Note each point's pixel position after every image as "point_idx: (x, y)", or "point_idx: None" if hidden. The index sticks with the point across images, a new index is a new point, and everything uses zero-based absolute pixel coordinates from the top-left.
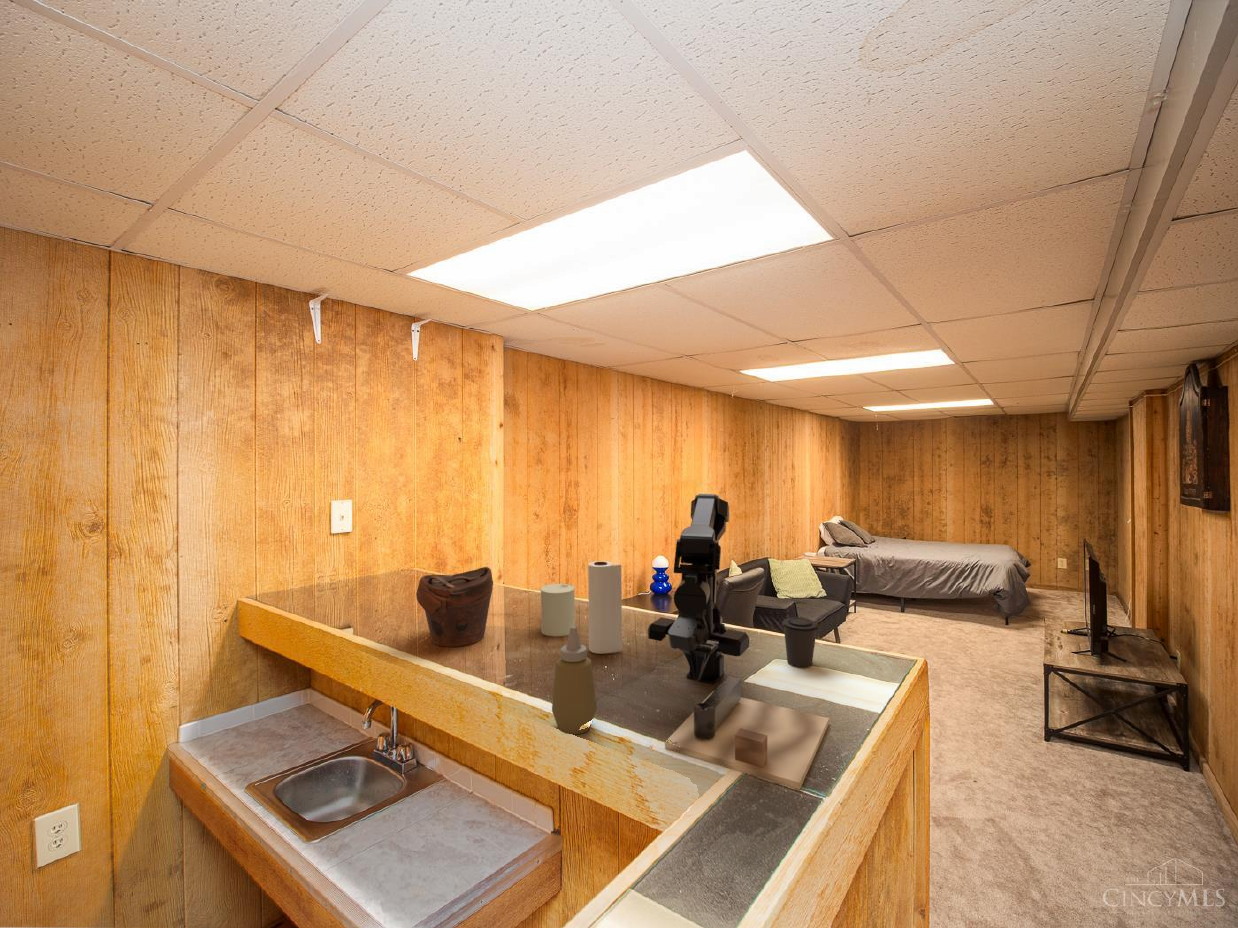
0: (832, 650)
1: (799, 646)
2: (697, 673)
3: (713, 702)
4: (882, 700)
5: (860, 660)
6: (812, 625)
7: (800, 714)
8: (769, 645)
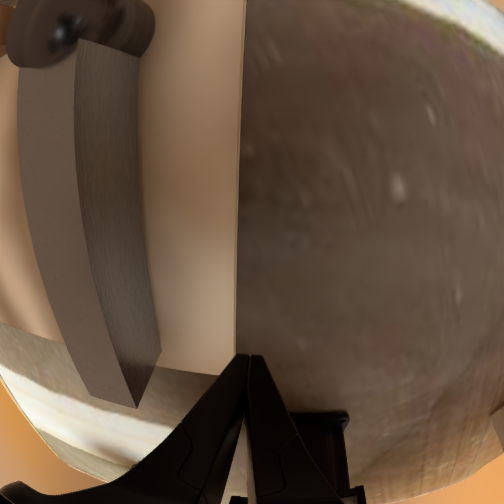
0: None
1: None
2: (230, 383)
3: (37, 122)
4: (12, 391)
5: (98, 470)
6: None
7: (10, 315)
8: (223, 499)
